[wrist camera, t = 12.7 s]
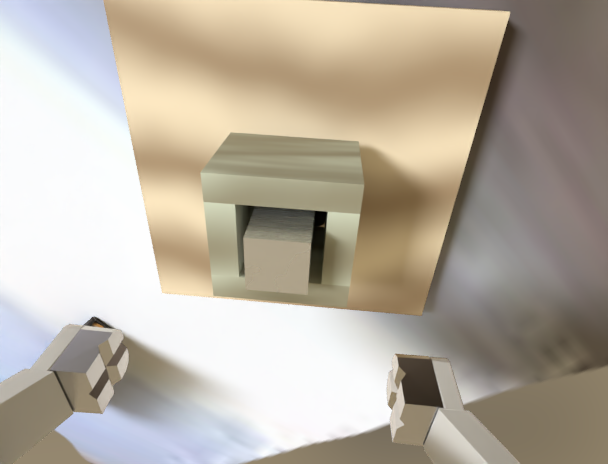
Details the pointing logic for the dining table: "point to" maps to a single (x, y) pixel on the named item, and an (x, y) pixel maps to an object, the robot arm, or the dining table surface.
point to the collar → (284, 194)
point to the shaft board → (305, 127)
